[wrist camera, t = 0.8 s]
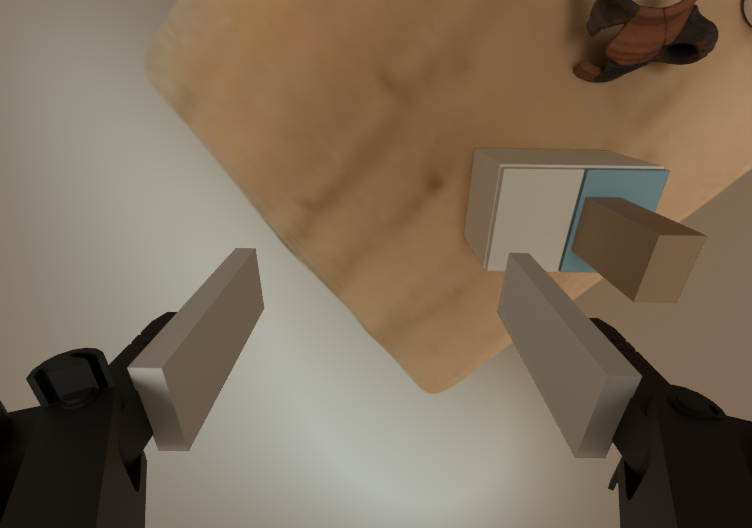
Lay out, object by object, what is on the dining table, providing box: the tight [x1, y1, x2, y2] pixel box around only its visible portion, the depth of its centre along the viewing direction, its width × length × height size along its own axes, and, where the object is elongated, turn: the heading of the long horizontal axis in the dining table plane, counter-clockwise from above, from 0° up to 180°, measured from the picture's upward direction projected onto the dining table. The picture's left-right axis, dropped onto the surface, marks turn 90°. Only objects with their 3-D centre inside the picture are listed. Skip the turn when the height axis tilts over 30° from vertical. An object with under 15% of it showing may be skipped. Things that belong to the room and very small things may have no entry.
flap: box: [558, 168, 707, 303], centre depth 28 cm, size 7×10×10 cm
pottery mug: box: [573, 0, 718, 82], centre depth 31 cm, size 12×9×8 cm
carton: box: [464, 149, 664, 272], centre depth 36 cm, size 14×10×10 cm
